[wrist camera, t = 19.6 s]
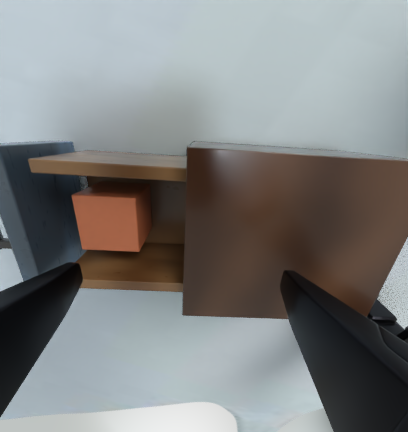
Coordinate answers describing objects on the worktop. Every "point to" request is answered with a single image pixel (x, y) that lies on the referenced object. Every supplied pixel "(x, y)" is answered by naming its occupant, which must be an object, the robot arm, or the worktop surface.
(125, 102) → the worktop surface
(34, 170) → the drawer
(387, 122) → the worktop surface
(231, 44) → the worktop surface
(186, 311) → the cabinet
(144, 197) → the block
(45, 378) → the worktop surface
